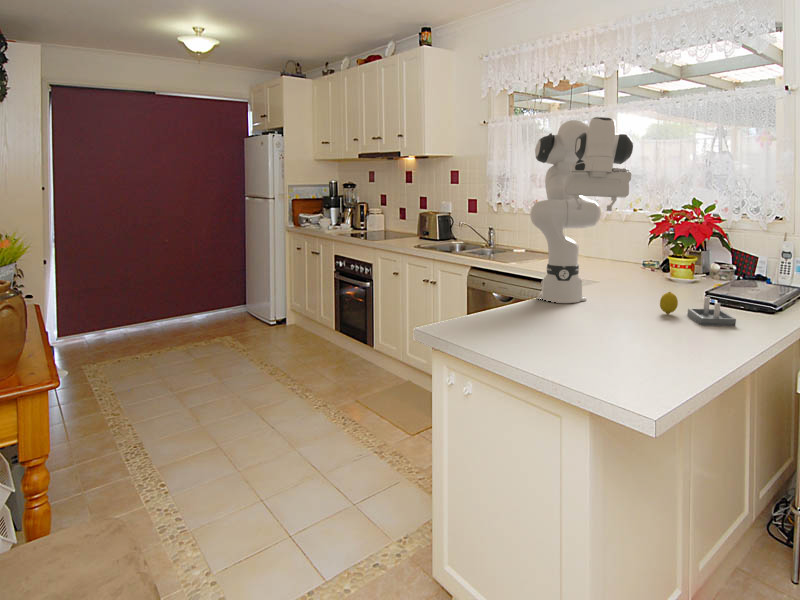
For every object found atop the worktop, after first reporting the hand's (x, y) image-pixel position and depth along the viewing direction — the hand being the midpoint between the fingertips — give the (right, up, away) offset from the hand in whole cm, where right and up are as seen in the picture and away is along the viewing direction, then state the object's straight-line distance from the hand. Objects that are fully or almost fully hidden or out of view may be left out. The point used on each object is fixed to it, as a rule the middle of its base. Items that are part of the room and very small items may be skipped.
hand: (593, 210), depth 182 cm
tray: (+38, -37, 0) cm, 53 cm away
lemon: (+29, -35, +10) cm, 46 cm away
